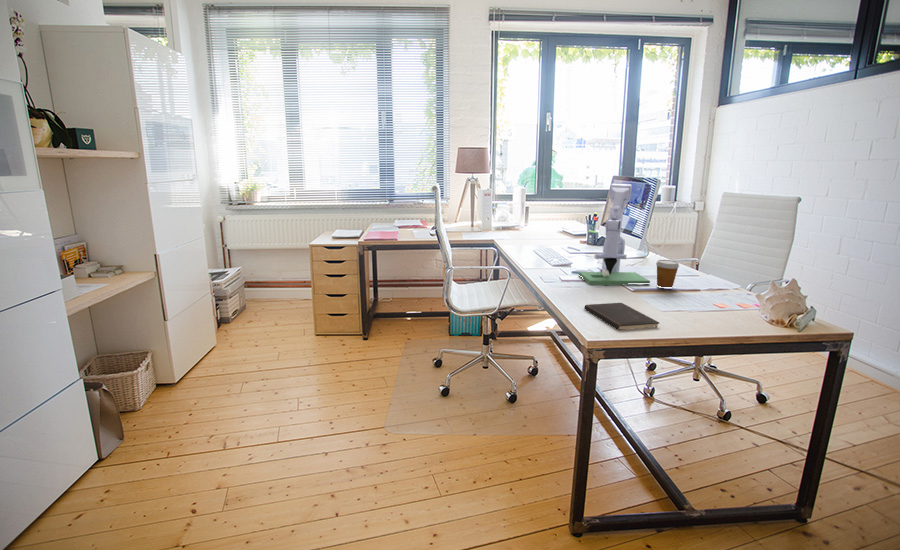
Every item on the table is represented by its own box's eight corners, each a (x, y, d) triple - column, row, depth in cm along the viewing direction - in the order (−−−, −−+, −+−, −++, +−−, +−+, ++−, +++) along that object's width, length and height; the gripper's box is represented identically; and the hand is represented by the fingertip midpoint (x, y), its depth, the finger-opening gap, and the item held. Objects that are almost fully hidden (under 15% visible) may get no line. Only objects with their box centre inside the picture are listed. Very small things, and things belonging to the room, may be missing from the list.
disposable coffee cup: (679, 290, 210) (683, 264, 207) (658, 290, 210) (661, 263, 207) (670, 285, 219) (674, 259, 216) (649, 284, 219) (653, 259, 216)
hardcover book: (620, 308, 187) (621, 302, 186) (658, 328, 165) (659, 322, 165) (584, 310, 183) (584, 304, 183) (617, 331, 162) (618, 325, 161)
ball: (601, 274, 226) (601, 268, 225) (608, 274, 226) (608, 267, 225) (602, 278, 223) (602, 271, 222) (610, 277, 223) (610, 271, 221)
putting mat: (578, 276, 232) (579, 272, 232) (634, 276, 234) (635, 272, 233) (589, 284, 217) (590, 280, 216) (649, 285, 218) (650, 280, 218)
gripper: (599, 246, 216) (596, 275, 220) (630, 247, 217) (627, 275, 220) (593, 244, 223) (591, 272, 226) (624, 244, 224) (621, 272, 227)
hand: (608, 273), depth 224 cm, fingers closed, pressing on ball
